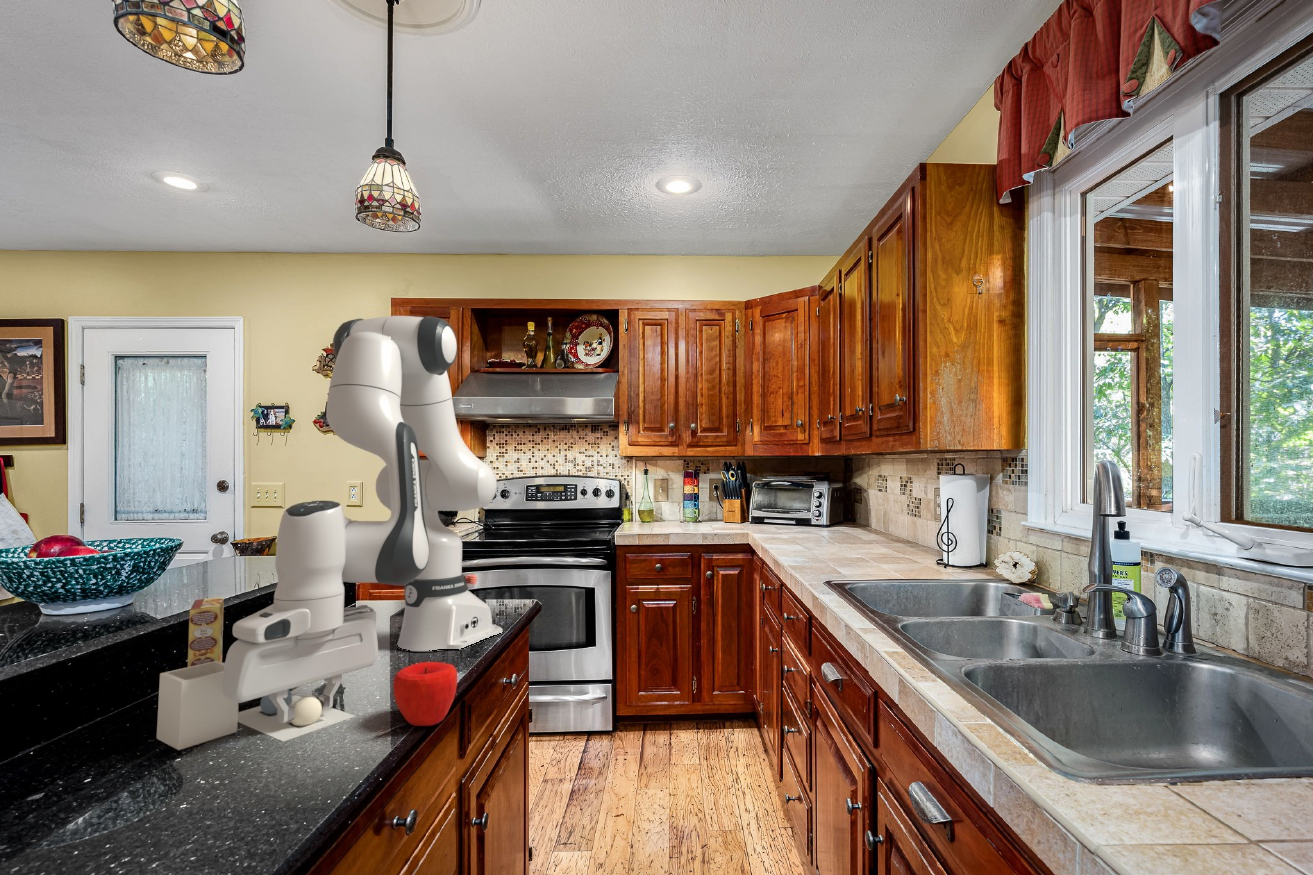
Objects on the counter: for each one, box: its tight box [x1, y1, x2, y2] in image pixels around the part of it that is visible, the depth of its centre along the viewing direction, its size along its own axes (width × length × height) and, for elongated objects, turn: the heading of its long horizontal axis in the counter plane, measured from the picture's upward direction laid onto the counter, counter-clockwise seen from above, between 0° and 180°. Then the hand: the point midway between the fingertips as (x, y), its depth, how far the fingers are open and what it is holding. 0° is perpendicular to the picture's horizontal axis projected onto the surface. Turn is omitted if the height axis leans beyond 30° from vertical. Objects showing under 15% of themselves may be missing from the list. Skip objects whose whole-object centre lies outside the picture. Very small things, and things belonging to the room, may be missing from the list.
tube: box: [156, 661, 239, 751], centre depth 82 cm, size 7×7×9 cm
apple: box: [393, 661, 458, 727], centre depth 88 cm, size 9×9×8 cm
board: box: [238, 695, 356, 743], centre depth 88 cm, size 16×10×1 cm, turn 58°
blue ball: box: [259, 689, 293, 715], centre depth 90 cm, size 4×4×4 cm
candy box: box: [187, 596, 225, 667], centre depth 96 cm, size 9×4×15 cm, turn 33°
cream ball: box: [291, 696, 322, 727], centre depth 86 cm, size 4×4×4 cm
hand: (305, 714), depth 86 cm, fingers closed on cream ball, 4 cm apart
